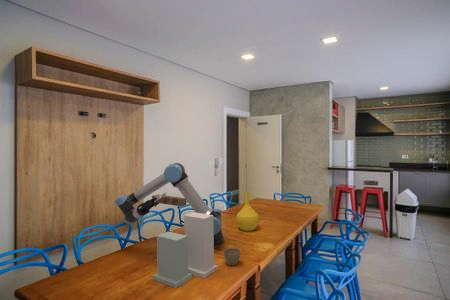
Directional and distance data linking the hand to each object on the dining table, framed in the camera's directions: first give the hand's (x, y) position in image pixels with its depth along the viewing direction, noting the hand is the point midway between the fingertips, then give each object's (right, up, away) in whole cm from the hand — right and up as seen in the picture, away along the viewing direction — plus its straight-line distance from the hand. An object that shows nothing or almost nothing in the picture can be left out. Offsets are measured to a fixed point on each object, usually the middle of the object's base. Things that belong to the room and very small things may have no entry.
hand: (163, 195), depth 159 cm
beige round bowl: (+41, -39, -7) cm, 57 cm away
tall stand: (+23, -39, -14) cm, 47 cm away
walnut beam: (+4, -5, -2) cm, 6 cm away
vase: (+56, -38, +57) cm, 88 cm away
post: (+10, -39, -23) cm, 47 cm away
